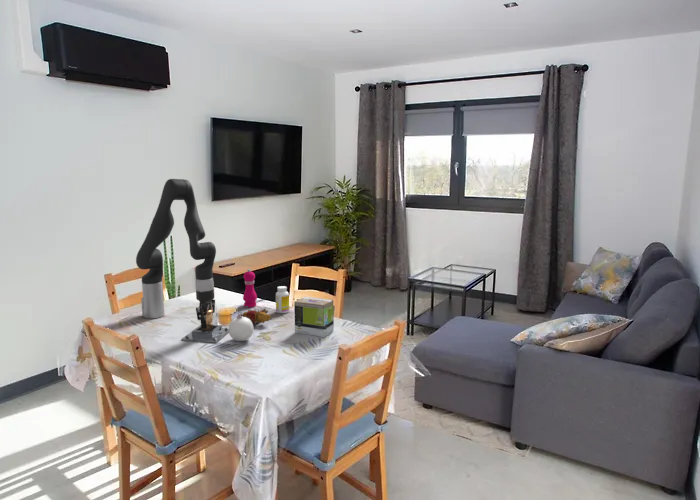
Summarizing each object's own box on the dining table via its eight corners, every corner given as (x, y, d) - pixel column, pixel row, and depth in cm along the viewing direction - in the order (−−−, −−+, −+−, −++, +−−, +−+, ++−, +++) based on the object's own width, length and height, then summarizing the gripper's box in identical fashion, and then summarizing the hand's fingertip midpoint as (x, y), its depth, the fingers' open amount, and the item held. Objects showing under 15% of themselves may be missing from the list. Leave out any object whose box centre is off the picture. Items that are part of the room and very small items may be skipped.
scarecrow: (239, 330, 224) (239, 314, 222) (237, 319, 239) (236, 303, 237) (277, 327, 228) (276, 310, 227) (272, 316, 244) (272, 300, 242)
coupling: (181, 340, 211) (180, 333, 210) (198, 328, 226) (198, 321, 226) (216, 343, 208) (216, 335, 207) (231, 330, 223) (231, 323, 223)
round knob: (198, 329, 214) (197, 311, 213) (203, 325, 220) (203, 308, 218) (210, 330, 213) (209, 312, 212) (215, 326, 219) (215, 308, 217)
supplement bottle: (291, 310, 253) (291, 286, 251) (285, 314, 247) (285, 289, 245) (279, 309, 255) (279, 285, 253) (273, 312, 249) (273, 288, 247)
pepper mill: (255, 307, 258) (254, 270, 254) (241, 307, 258) (240, 270, 254) (258, 303, 265) (257, 267, 261) (245, 303, 265) (243, 267, 261)
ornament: (232, 346, 204) (231, 318, 202) (226, 338, 213) (225, 311, 211) (256, 342, 209) (255, 315, 207) (249, 334, 218) (248, 308, 216)
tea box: (334, 330, 223) (334, 299, 221) (323, 338, 214) (323, 305, 212) (305, 326, 230) (304, 295, 227) (294, 332, 221) (293, 300, 218)
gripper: (204, 283, 221) (206, 320, 224) (188, 292, 207) (190, 331, 210) (220, 284, 220) (221, 321, 223) (205, 293, 206) (207, 332, 209)
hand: (206, 325), depth 216 cm, fingers closed on round knob, 5 cm apart
